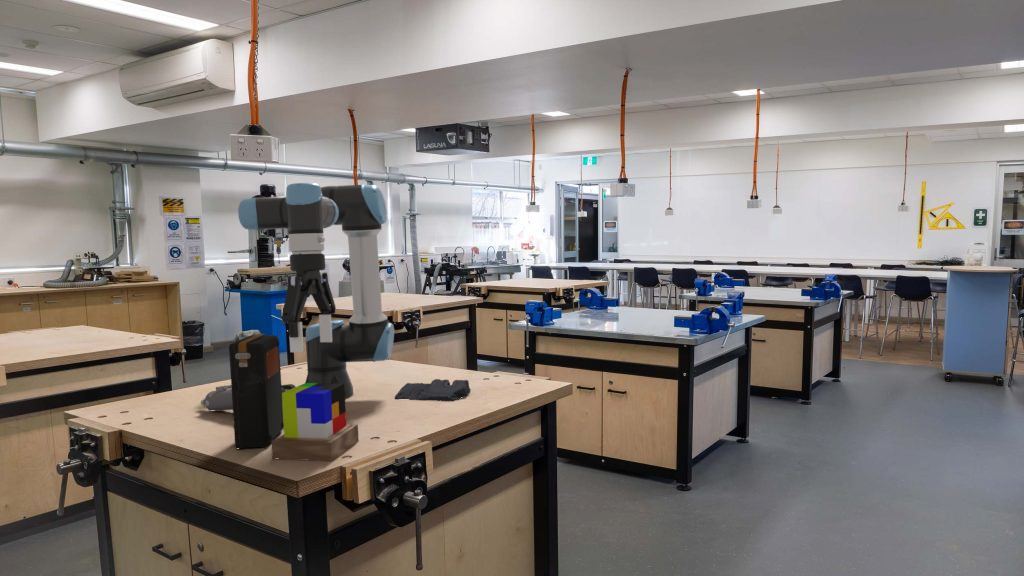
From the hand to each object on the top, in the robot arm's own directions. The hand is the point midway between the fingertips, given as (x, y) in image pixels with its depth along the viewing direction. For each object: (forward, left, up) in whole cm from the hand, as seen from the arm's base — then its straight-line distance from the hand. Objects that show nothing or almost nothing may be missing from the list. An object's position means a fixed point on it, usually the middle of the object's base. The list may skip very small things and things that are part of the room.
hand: (312, 347), depth 144 cm
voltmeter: (-6, -18, -24) cm, 30 cm away
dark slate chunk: (-53, +11, -24) cm, 60 cm away
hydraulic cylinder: (-27, -36, -24) cm, 51 cm away
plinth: (0, 0, -24) cm, 24 cm away
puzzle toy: (0, 0, -20) cm, 20 cm away
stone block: (-58, -52, -24) cm, 81 cm away
